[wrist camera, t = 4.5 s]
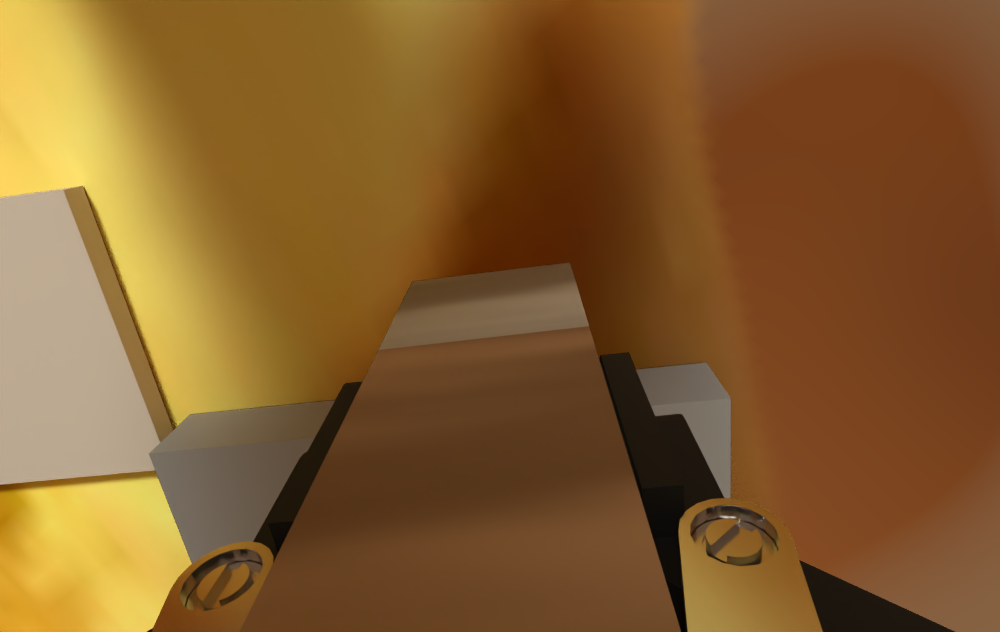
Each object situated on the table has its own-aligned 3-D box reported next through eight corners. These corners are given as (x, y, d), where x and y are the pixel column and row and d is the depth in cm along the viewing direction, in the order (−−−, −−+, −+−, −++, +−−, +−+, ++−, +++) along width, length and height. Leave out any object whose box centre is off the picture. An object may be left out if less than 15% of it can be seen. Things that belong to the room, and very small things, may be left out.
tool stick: (411, 281, 15) (-282, 1686, 2) (570, 262, 15) (1021, 1760, 2) (439, 416, 16) (153, 1719, 3) (582, 401, 16) (869, 1760, 3)
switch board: (190, 414, 26) (146, 455, 23) (706, 362, 24) (731, 399, 21) (284, 679, 31) (259, 739, 28) (710, 654, 29) (730, 715, 26)
